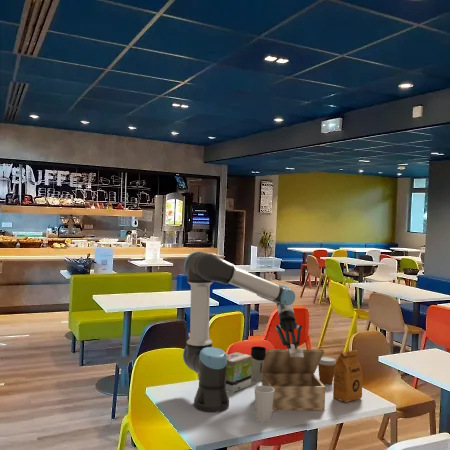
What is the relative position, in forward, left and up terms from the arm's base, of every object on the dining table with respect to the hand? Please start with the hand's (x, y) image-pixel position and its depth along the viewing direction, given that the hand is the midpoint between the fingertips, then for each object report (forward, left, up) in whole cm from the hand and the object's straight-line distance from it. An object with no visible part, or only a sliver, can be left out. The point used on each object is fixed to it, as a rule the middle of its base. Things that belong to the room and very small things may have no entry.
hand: (294, 358), depth 211 cm
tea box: (-24, +17, -19) cm, 35 cm away
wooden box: (-1, -3, -19) cm, 19 cm away
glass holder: (-9, +28, -19) cm, 35 cm away
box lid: (-1, -2, -3) cm, 4 cm away
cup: (-17, -20, -19) cm, 32 cm away
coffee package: (+26, +1, -19) cm, 32 cm away
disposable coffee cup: (+23, +23, -19) cm, 38 cm away
